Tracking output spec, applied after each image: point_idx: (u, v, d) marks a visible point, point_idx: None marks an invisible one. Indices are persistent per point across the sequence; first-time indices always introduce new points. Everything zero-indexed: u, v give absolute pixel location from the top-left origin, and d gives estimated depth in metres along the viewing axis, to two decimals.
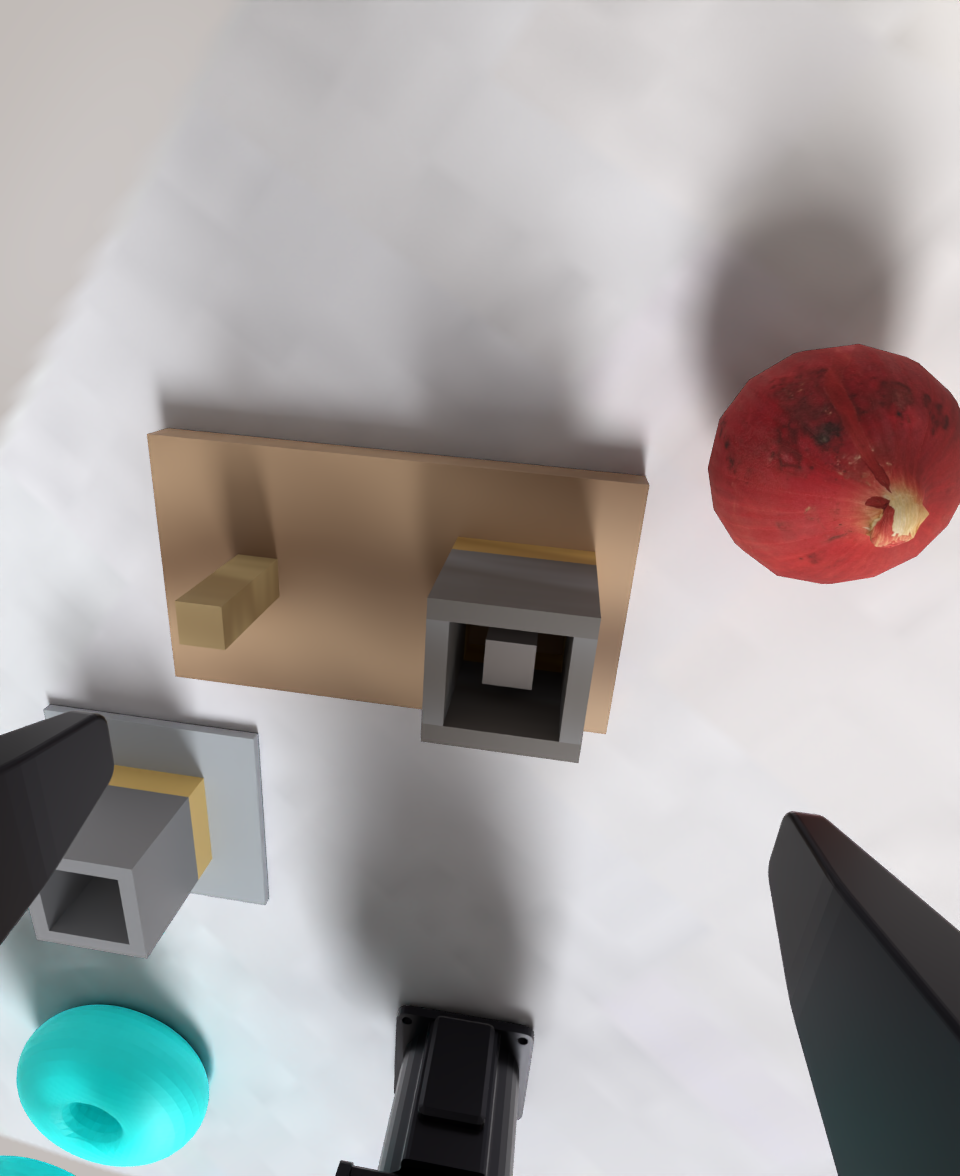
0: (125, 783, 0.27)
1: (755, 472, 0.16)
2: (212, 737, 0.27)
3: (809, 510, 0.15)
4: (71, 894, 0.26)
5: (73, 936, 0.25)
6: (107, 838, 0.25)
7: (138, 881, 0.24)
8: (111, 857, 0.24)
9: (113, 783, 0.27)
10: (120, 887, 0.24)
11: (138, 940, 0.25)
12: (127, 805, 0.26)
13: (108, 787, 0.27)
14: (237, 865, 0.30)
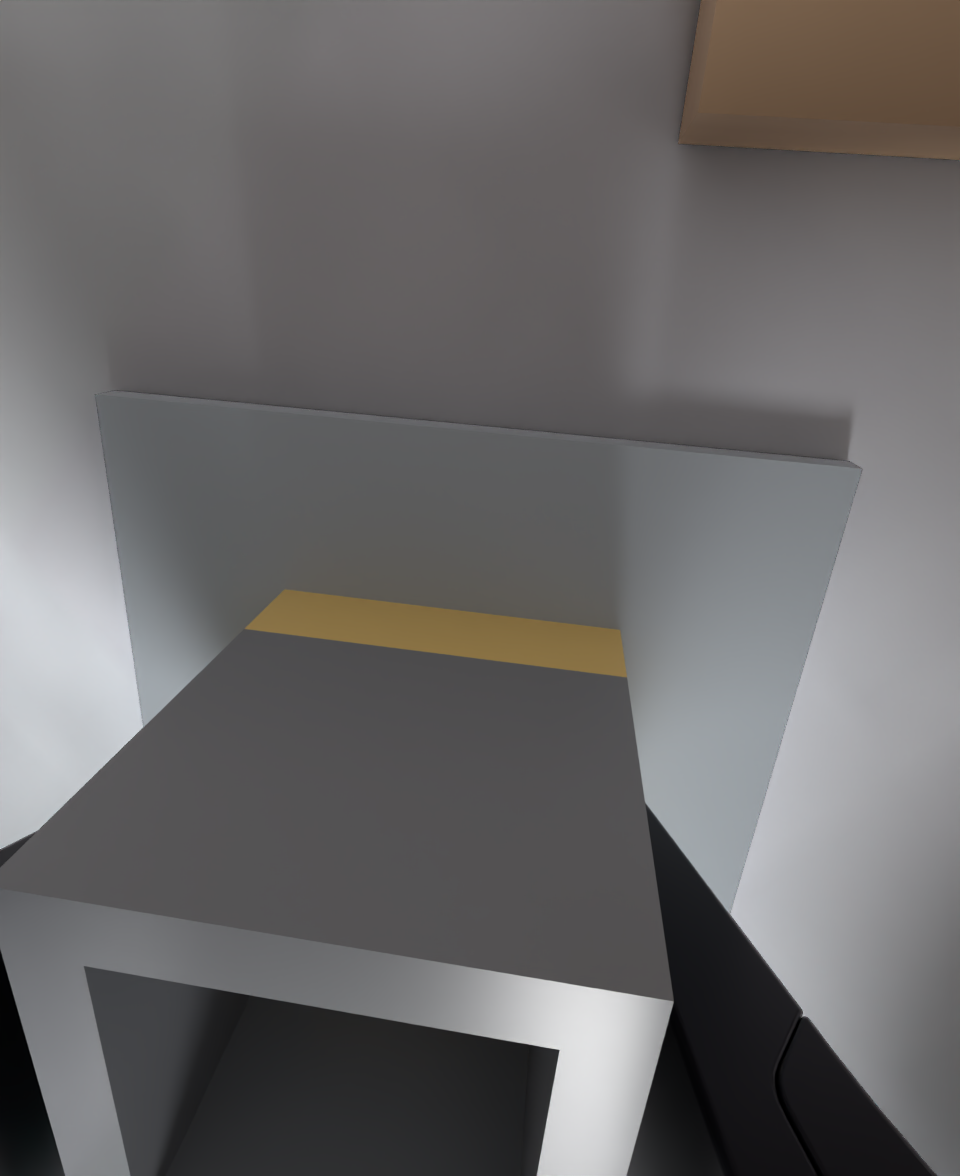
0: (382, 636, 0.08)
1: None
2: (698, 470, 0.08)
3: None
4: (214, 1041, 0.07)
5: None
6: (429, 820, 0.05)
7: None
8: (512, 923, 0.04)
9: (342, 635, 0.08)
10: (559, 1086, 0.04)
11: None
12: (431, 697, 0.07)
13: (331, 645, 0.08)
14: None
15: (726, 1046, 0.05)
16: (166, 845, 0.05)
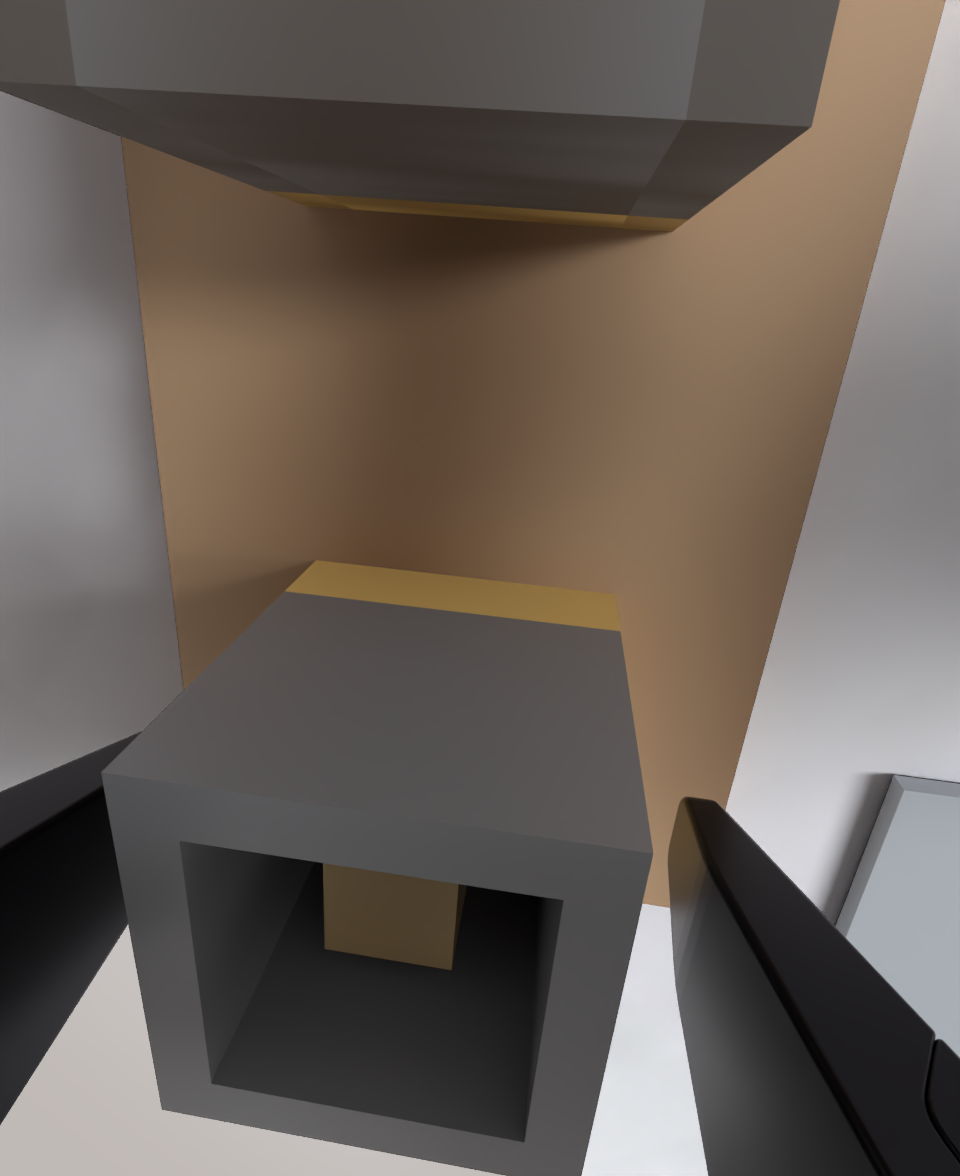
0: (406, 598, 0.09)
1: None
2: (884, 871, 0.12)
3: None
4: (264, 942, 0.08)
5: (302, 1105, 0.07)
6: (454, 733, 0.06)
7: None
8: (525, 802, 0.05)
9: (371, 597, 0.09)
10: (563, 933, 0.06)
11: (570, 1132, 0.06)
12: (450, 645, 0.08)
13: (362, 605, 0.09)
14: None
15: (869, 1070, 0.05)
16: (242, 747, 0.06)
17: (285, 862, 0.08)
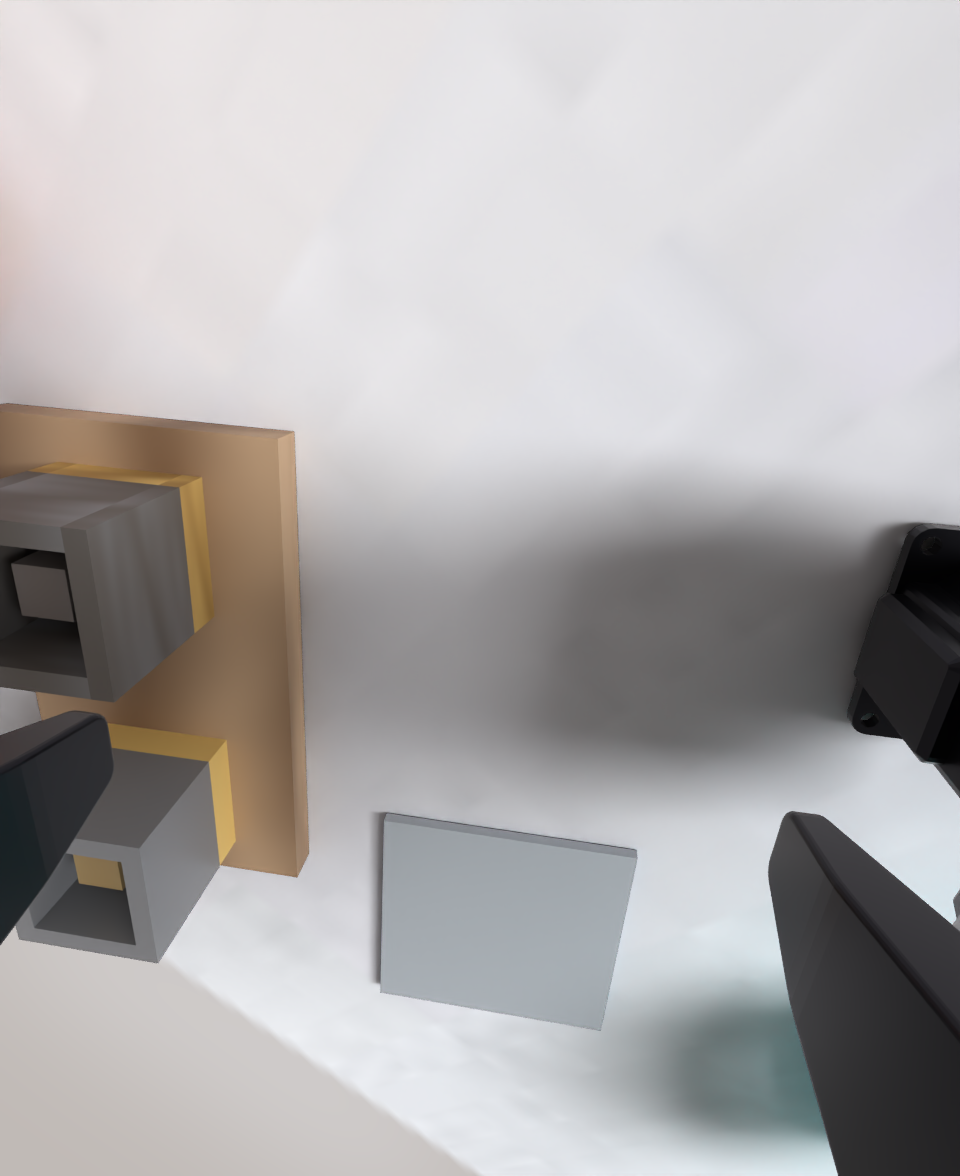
0: (130, 745, 0.22)
1: None
2: (388, 858, 0.25)
3: None
4: (63, 882, 0.21)
5: (65, 935, 0.20)
6: (106, 809, 0.19)
7: (147, 864, 0.19)
8: (113, 833, 0.19)
9: (115, 745, 0.22)
10: (124, 872, 0.19)
11: (148, 940, 0.20)
12: (131, 771, 0.21)
13: None
14: (571, 874, 0.24)
15: None
16: None
17: None
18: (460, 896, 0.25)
